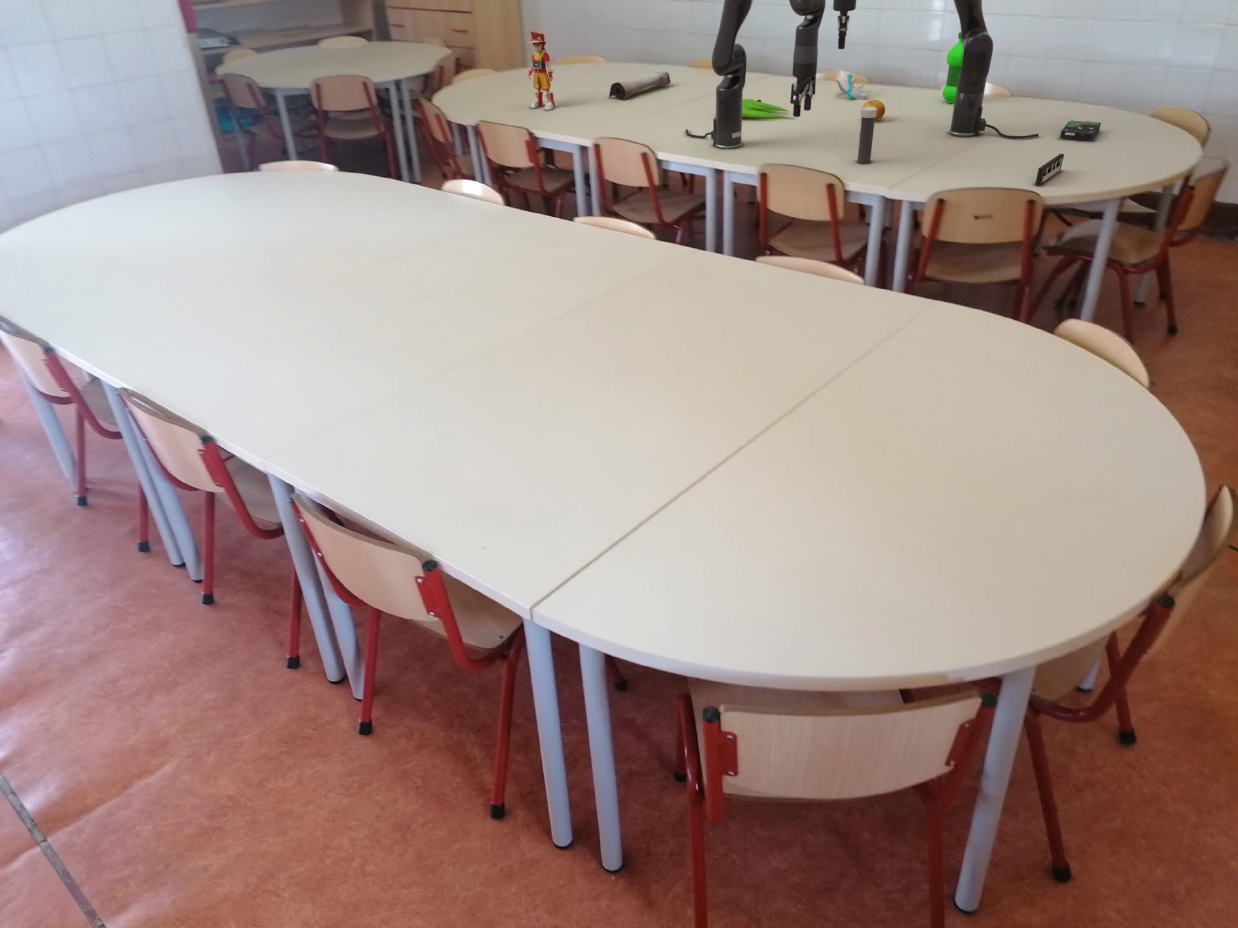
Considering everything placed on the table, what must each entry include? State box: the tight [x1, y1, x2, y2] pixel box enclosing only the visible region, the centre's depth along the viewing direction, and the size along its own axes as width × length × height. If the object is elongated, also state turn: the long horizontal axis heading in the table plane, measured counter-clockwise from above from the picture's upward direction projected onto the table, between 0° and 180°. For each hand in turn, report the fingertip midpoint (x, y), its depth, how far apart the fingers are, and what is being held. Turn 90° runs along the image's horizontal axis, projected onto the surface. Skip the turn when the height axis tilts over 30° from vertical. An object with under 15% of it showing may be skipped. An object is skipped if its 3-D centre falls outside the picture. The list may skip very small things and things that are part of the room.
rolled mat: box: [608, 71, 672, 101], centre depth 395 cm, size 30×9×10 cm
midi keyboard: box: [1035, 153, 1065, 186], centre depth 273 cm, size 18×1×5 cm, turn 138°
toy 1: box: [527, 31, 556, 111], centre depth 374 cm, size 12×9×30 cm
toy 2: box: [742, 98, 793, 119], centre depth 353 cm, size 28×5×30 cm
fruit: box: [861, 99, 886, 122], centre depth 337 cm, size 8×8×8 cm
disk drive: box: [1059, 120, 1102, 141], centre depth 309 cm, size 10×3×15 cm
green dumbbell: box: [942, 31, 963, 104], centre depth 348 cm, size 10×10×25 cm
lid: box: [860, 106, 877, 118], centre depth 289 cm, size 5×5×2 cm
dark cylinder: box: [856, 117, 876, 165], centre depth 293 cm, size 4×4×16 cm
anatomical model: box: [836, 70, 868, 100], centre depth 369 cm, size 15×10×10 cm
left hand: (801, 113), depth 292 cm, fingers open, 8 cm apart
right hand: (841, 46), depth 311 cm, fingers open, 8 cm apart
